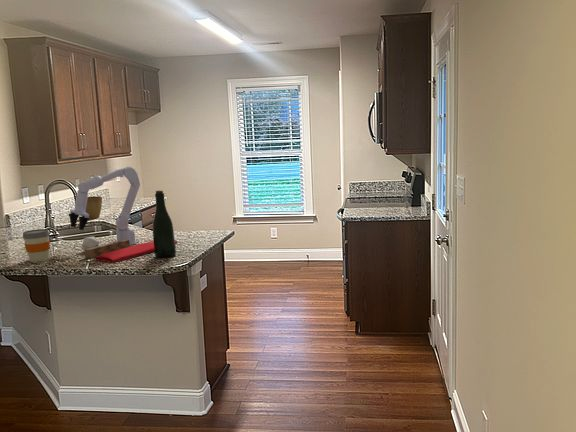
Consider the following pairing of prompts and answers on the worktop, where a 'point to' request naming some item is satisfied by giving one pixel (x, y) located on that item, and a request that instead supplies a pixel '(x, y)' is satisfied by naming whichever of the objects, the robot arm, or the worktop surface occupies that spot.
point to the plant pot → (94, 207)
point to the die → (90, 242)
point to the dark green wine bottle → (163, 229)
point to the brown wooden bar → (105, 248)
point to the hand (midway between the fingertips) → (77, 228)
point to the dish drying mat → (127, 252)
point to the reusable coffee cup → (37, 244)
